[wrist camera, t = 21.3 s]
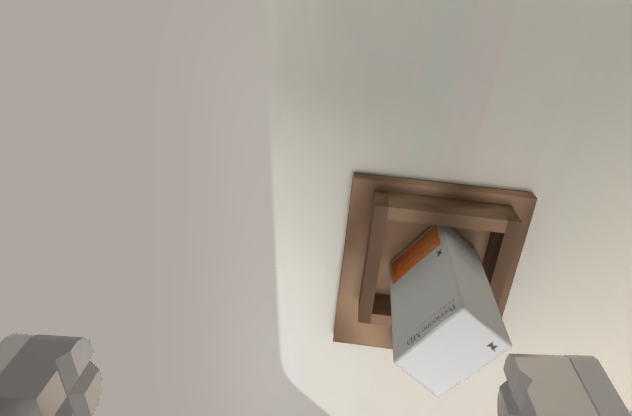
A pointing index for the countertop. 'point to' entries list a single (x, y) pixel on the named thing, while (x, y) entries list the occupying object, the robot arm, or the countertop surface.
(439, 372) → the skincare box
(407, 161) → the countertop surface
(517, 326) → the countertop surface
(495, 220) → the organiser tray
